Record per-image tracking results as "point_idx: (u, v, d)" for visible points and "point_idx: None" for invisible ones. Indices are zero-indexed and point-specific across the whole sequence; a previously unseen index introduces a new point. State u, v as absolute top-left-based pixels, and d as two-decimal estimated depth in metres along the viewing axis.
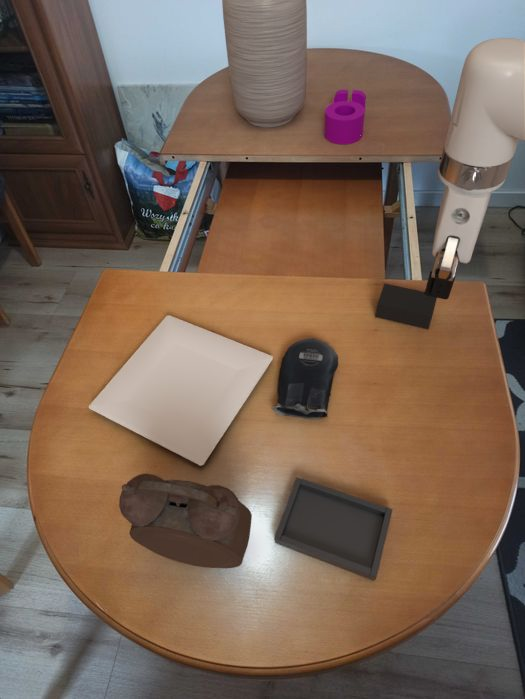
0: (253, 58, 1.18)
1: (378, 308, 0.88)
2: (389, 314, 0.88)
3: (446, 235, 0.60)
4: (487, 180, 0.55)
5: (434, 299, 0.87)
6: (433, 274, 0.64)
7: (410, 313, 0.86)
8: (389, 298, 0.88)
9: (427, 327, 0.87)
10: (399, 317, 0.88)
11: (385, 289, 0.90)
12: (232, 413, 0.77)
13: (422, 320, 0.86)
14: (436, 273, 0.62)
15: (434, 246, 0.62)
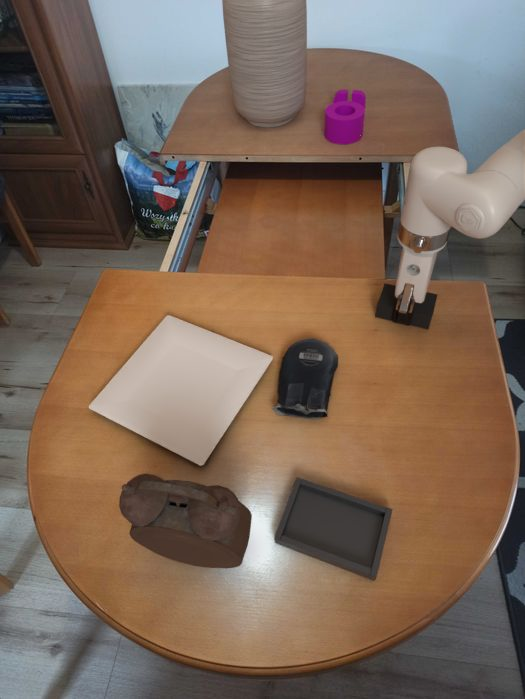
0: (253, 58, 1.18)
1: (378, 308, 0.88)
2: (389, 314, 0.88)
3: (404, 283, 0.79)
4: (431, 245, 0.73)
5: (434, 299, 0.87)
6: (397, 307, 0.84)
7: None
8: (389, 298, 0.88)
9: (427, 327, 0.87)
10: None
11: (385, 289, 0.90)
12: (232, 413, 0.77)
13: (422, 320, 0.86)
14: (398, 307, 0.82)
15: (396, 290, 0.81)
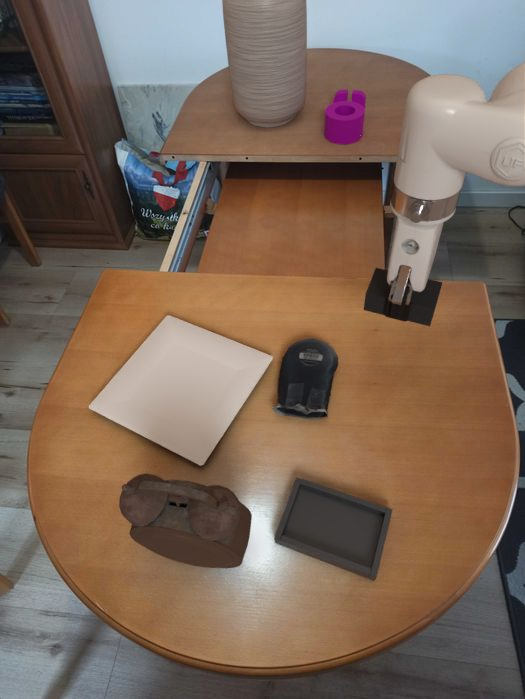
0: (253, 58, 1.18)
1: (367, 299, 0.70)
2: (381, 306, 0.70)
3: (398, 264, 0.60)
4: (434, 212, 0.55)
5: (438, 288, 0.69)
6: (390, 298, 0.66)
7: None
8: (380, 287, 0.70)
9: (428, 323, 0.69)
10: None
11: (376, 274, 0.71)
12: (232, 413, 0.77)
13: (422, 314, 0.68)
14: (391, 297, 0.64)
15: (388, 274, 0.62)
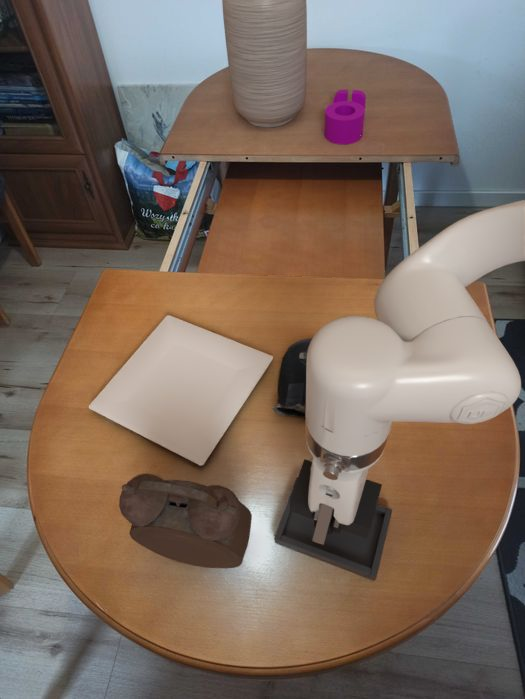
0: (253, 58, 1.18)
1: (292, 504, 0.58)
2: (308, 513, 0.58)
3: (318, 502, 0.48)
4: (355, 464, 0.43)
5: (376, 494, 0.57)
6: (316, 518, 0.54)
7: None
8: (308, 490, 0.58)
9: (365, 537, 0.57)
10: None
11: (304, 470, 0.59)
12: (232, 413, 0.77)
13: (356, 529, 0.56)
14: (315, 526, 0.52)
15: (308, 504, 0.50)
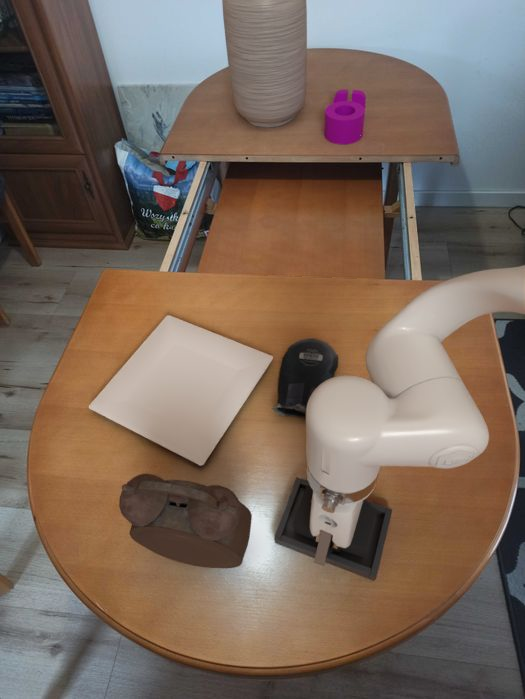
0: (253, 58, 1.18)
1: (295, 526, 0.64)
2: (311, 534, 0.64)
3: (318, 529, 0.55)
4: (350, 499, 0.49)
5: (371, 517, 0.63)
6: (317, 540, 0.60)
7: None
8: None
9: (362, 556, 0.63)
10: None
11: (307, 496, 0.66)
12: (232, 413, 0.77)
13: (354, 549, 0.62)
14: (316, 548, 0.58)
15: (310, 529, 0.57)
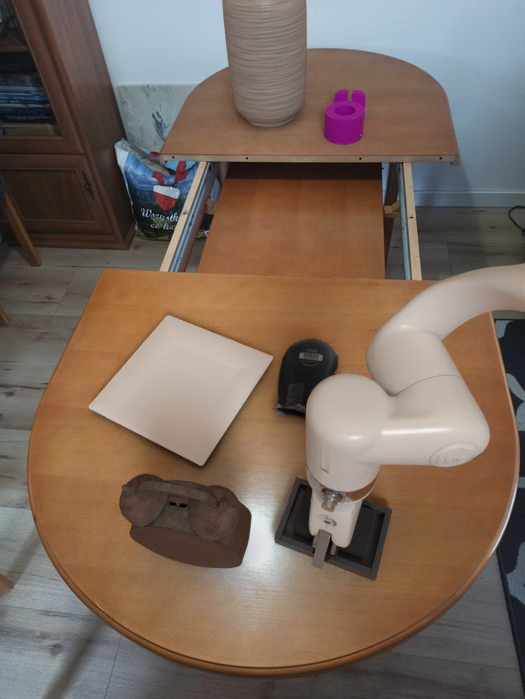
0: (253, 58, 1.18)
1: (295, 528, 0.65)
2: (310, 536, 0.65)
3: (317, 528, 0.54)
4: (349, 498, 0.49)
5: (370, 519, 0.64)
6: (314, 546, 0.59)
7: None
8: None
9: (361, 557, 0.64)
10: None
11: (306, 498, 0.66)
12: (232, 413, 0.77)
13: (353, 551, 0.63)
14: (313, 554, 0.57)
15: (309, 529, 0.56)
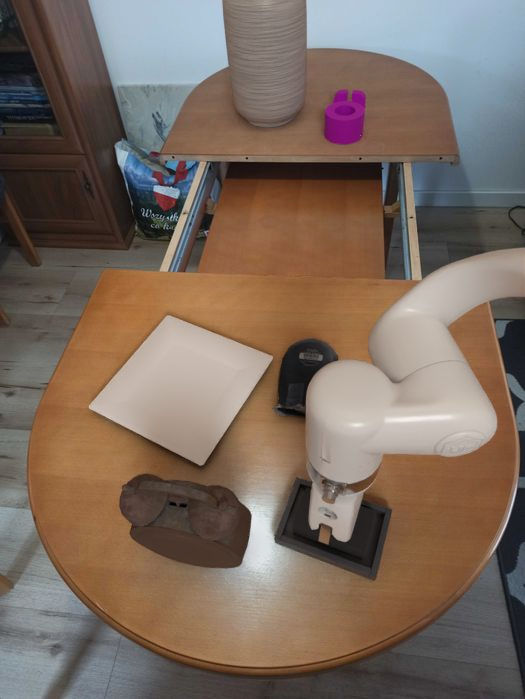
0: (253, 58, 1.18)
1: (295, 528, 0.65)
2: (310, 536, 0.65)
3: (317, 521, 0.53)
4: (351, 489, 0.47)
5: (370, 519, 0.64)
6: None
7: (336, 542, 0.63)
8: None
9: (361, 557, 0.64)
10: None
11: (306, 498, 0.66)
12: (232, 413, 0.77)
13: (353, 551, 0.63)
14: None
15: (309, 523, 0.55)
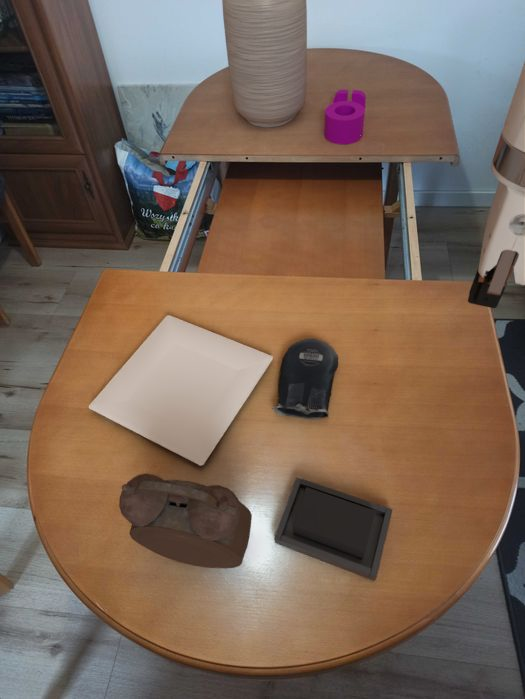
0: (253, 58, 1.18)
1: (295, 528, 0.65)
2: (310, 536, 0.65)
3: (500, 249, 0.46)
4: None
5: (370, 519, 0.64)
6: (481, 278, 0.53)
7: (336, 542, 0.63)
8: (309, 516, 0.65)
9: (361, 557, 0.64)
10: (323, 541, 0.65)
11: (306, 498, 0.66)
12: (232, 413, 0.77)
13: (353, 551, 0.63)
14: (487, 277, 0.51)
15: (482, 263, 0.48)
